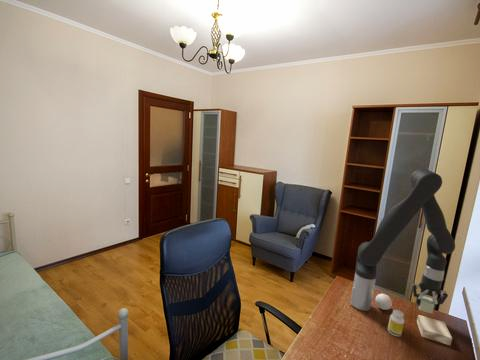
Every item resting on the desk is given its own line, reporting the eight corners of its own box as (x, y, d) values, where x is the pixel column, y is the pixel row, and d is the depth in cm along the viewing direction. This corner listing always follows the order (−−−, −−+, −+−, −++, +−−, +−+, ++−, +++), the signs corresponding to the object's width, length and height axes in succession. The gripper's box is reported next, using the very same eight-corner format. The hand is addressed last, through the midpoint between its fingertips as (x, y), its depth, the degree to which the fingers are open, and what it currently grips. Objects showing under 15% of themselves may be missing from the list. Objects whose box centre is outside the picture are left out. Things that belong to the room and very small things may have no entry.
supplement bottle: (403, 338, 106) (407, 318, 104) (390, 335, 107) (393, 316, 105) (398, 328, 112) (402, 309, 110) (385, 326, 113) (389, 307, 111)
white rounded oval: (373, 301, 129) (375, 288, 128) (389, 306, 126) (392, 293, 125) (374, 313, 121) (376, 300, 119) (392, 318, 117) (394, 305, 116)
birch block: (421, 337, 108) (423, 329, 107) (416, 322, 117) (418, 314, 116) (450, 346, 104) (452, 338, 103) (442, 329, 113) (444, 322, 112)
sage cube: (419, 310, 118) (421, 300, 117) (417, 303, 122) (419, 295, 121) (432, 314, 116) (434, 304, 115) (429, 307, 120) (431, 298, 119)
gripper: (416, 274, 115) (408, 306, 119) (454, 284, 109) (445, 317, 113) (413, 267, 122) (406, 297, 125) (449, 276, 116) (441, 307, 119)
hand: (425, 306), depth 119 cm, fingers closed on sage cube, 5 cm apart
